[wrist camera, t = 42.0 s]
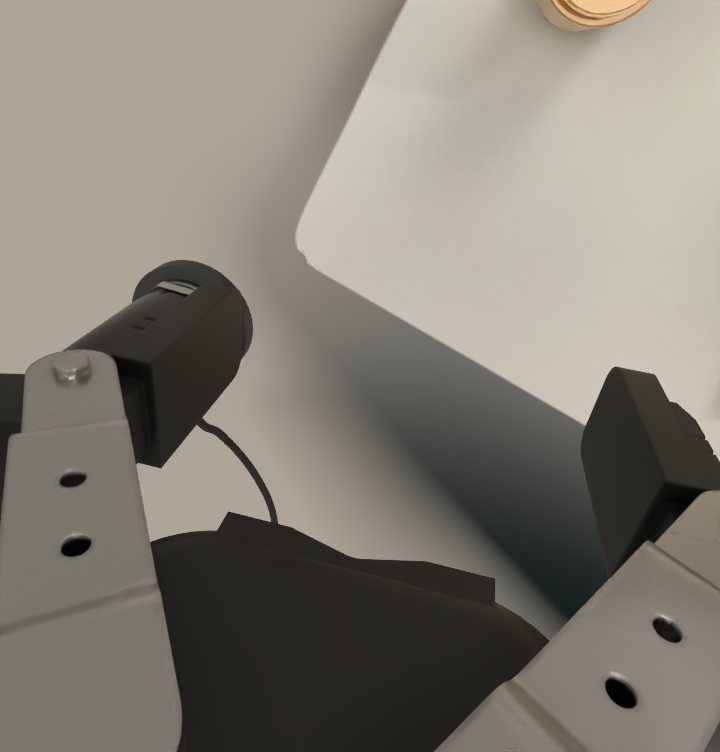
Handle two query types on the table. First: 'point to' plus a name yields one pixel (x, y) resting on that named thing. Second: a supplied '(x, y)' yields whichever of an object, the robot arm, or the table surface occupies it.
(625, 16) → the jar
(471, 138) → the table surface
